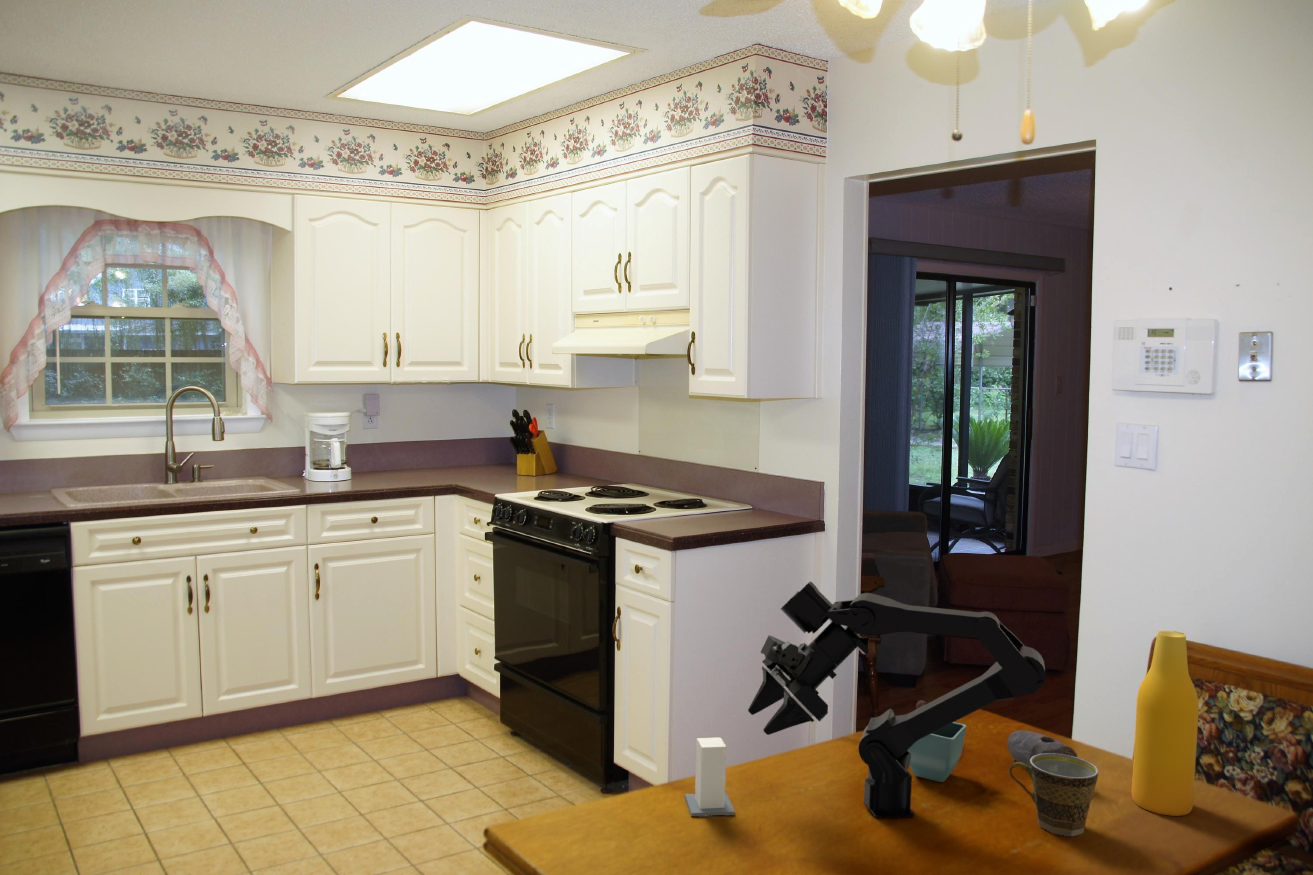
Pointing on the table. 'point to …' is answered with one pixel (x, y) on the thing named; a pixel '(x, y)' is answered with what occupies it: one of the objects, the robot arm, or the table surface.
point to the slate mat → (697, 811)
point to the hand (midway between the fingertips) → (757, 722)
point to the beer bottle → (1166, 731)
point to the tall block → (710, 773)
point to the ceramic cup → (1060, 791)
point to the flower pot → (938, 752)
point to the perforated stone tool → (1035, 746)
